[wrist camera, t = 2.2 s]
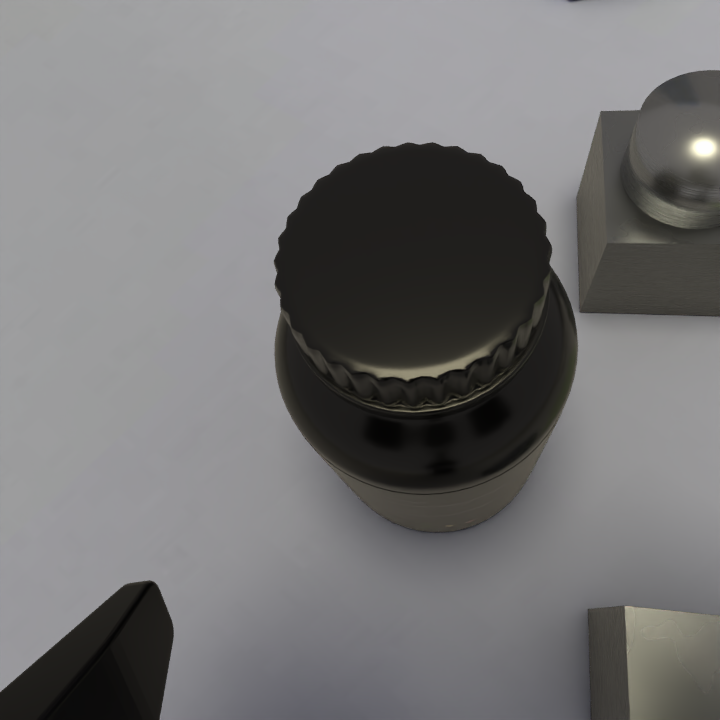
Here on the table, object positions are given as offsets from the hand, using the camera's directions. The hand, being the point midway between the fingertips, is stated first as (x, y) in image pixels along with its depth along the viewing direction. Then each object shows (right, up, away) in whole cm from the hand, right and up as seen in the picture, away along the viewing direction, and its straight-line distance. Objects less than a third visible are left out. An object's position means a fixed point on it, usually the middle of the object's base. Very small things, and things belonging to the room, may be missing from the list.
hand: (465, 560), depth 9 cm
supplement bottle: (+1, 0, +13) cm, 13 cm away
